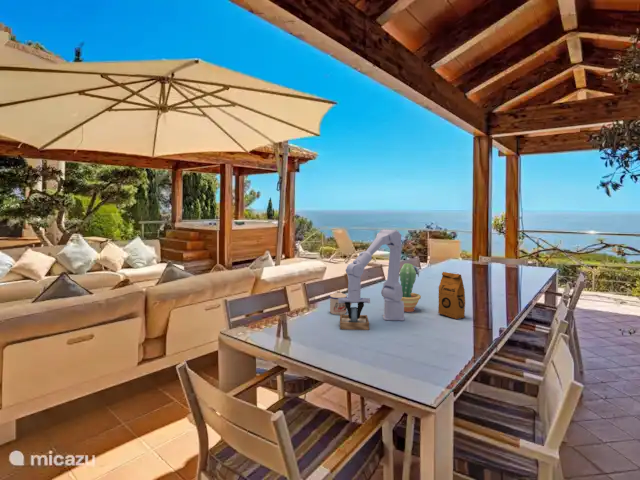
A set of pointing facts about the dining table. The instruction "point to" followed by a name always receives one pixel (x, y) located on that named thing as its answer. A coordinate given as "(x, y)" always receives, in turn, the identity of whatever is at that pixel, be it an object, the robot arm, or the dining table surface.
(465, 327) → the dining table surface
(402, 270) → the potted cactus
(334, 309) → the beige mug
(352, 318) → the peg
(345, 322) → the tray box
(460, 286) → the coffee package
